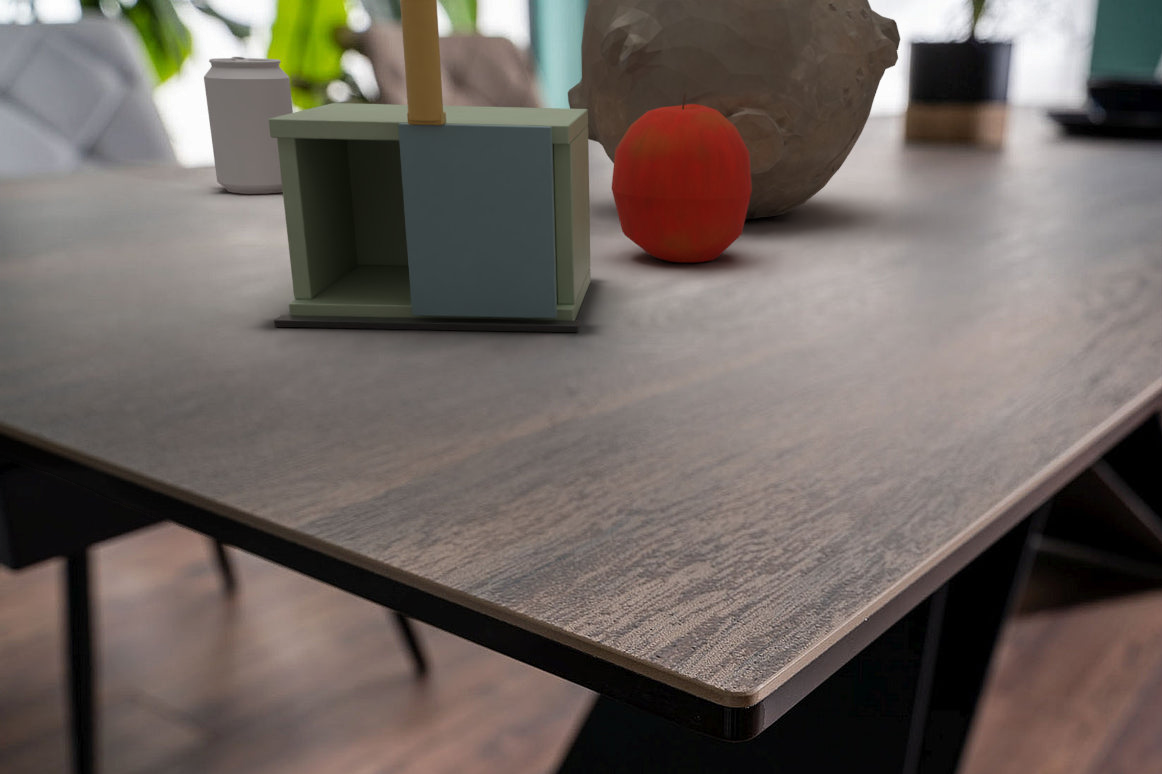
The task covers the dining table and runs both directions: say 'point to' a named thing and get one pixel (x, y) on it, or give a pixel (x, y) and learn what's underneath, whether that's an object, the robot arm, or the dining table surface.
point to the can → (246, 121)
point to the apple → (682, 183)
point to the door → (471, 198)
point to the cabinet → (403, 216)
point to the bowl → (742, 79)
